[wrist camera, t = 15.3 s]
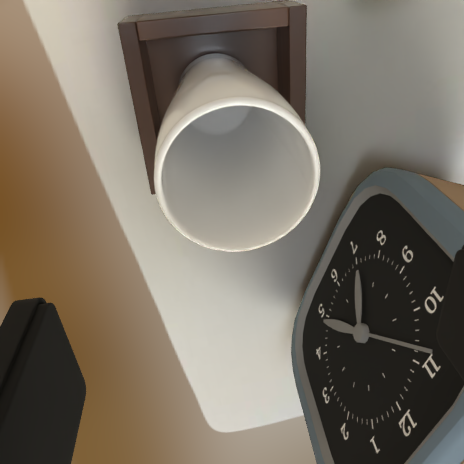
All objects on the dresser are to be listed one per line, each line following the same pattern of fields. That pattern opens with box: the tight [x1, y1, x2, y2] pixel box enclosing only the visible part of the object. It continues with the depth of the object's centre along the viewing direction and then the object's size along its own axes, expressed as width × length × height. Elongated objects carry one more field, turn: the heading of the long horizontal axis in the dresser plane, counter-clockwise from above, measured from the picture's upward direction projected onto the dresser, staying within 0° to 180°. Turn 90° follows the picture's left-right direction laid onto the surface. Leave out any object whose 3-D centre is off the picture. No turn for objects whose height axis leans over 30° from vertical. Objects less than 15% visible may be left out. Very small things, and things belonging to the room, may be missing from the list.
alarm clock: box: [291, 168, 464, 464], centre depth 30 cm, size 21×10×22 cm, turn 164°
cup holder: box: [118, 0, 307, 195], centre depth 28 cm, size 10×10×5 cm
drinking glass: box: [154, 53, 320, 252], centre depth 23 cm, size 7×7×15 cm
